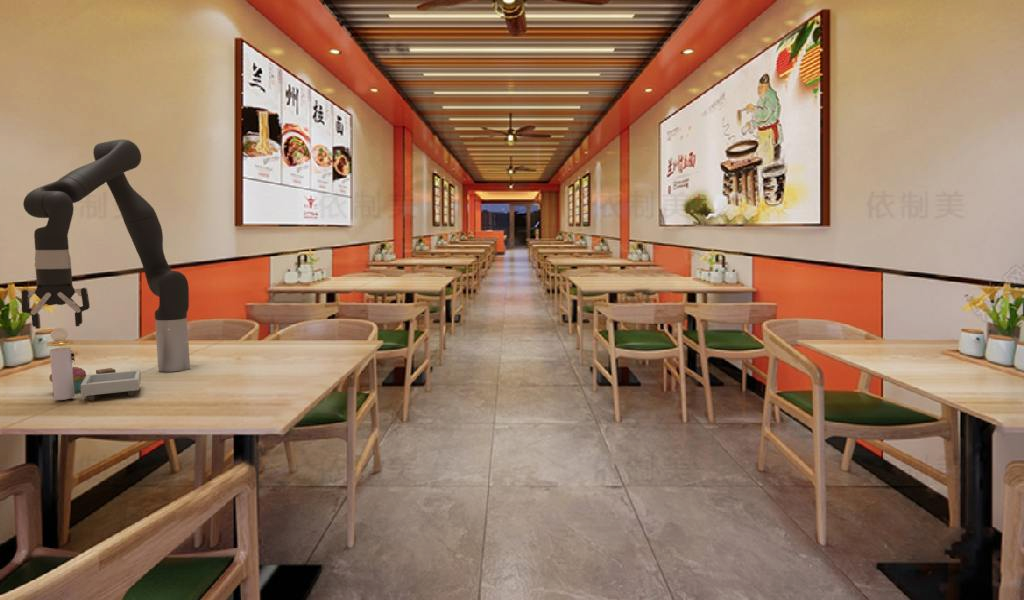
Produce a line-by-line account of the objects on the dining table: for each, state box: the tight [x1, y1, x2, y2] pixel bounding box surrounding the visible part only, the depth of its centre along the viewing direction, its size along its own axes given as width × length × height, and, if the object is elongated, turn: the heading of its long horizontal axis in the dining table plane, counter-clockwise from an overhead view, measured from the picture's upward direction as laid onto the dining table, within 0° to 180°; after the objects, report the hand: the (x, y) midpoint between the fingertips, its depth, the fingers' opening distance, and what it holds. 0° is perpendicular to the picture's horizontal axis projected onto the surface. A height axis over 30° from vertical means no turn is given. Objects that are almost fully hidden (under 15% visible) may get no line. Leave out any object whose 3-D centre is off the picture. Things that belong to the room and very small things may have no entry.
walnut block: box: [95, 367, 117, 374], centre depth 179 cm, size 4×4×4 cm
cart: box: [80, 369, 142, 402], centre depth 165 cm, size 13×13×5 cm
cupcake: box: [49, 350, 87, 393], centre depth 168 cm, size 9×8×12 cm
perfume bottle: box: [45, 327, 76, 401], centre depth 159 cm, size 6×6×20 cm
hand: (58, 327), depth 158 cm, fingers open, 8 cm apart
